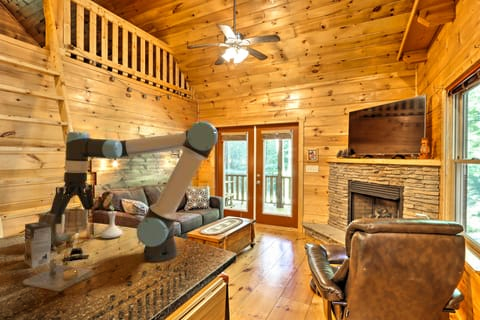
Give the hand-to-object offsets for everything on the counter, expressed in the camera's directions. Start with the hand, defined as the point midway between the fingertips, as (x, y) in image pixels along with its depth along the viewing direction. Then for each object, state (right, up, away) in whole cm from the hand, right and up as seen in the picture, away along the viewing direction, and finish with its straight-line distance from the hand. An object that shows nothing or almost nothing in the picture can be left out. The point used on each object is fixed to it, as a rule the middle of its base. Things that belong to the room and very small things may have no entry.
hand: (72, 228), depth 97 cm
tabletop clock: (-25, -16, +25) cm, 39 cm away
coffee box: (-19, -16, +6) cm, 26 cm away
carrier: (0, -17, -7) cm, 18 cm away
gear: (0, -1, 0) cm, 1 cm away
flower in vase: (-6, -16, +40) cm, 44 cm away
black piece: (-6, -17, +12) cm, 22 cm away
